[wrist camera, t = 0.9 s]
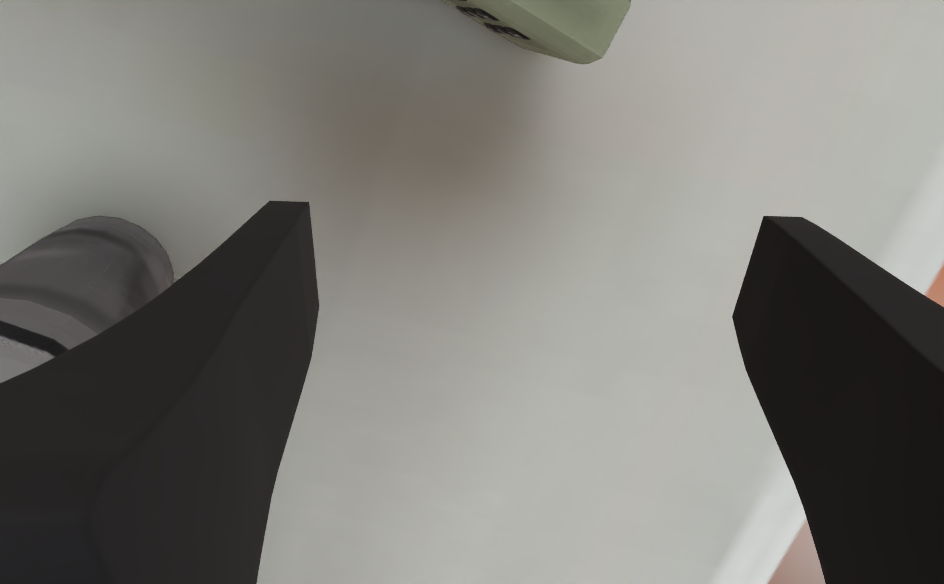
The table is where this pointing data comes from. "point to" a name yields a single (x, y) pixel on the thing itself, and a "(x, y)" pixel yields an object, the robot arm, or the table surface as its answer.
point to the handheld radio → (551, 24)
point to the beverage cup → (75, 288)
